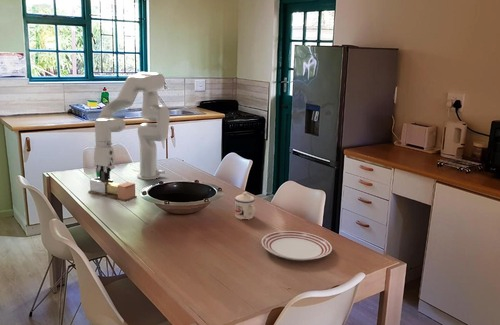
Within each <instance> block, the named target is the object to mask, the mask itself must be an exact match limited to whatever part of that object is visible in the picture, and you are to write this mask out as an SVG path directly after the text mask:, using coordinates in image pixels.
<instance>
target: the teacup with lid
mask: <svg viewBox="0 0 500 325" xmlns="http://www.w3.org/2000/svg"><path fill="white" fill-rule="evenodd" d="M255 201H256V200H255V197H254V196H252V195H250V194H248V192H247V191H244V192H242V194H239V195H236V196H235V198H234V204H235V205H234V206H235V207H234V217H235V218H236V219H238V220H242V219H248V220H251V219H253V218H254V215H255V213H256V206H255Z"/></svg>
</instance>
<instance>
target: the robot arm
mask: <svg viewBox="0 0 500 325" xmlns="http://www.w3.org/2000/svg"><path fill="white" fill-rule="evenodd" d="M165 84H166V78H165V76H164V75H163V74H162V73H159V72H149V71H140V72H137V73H136V74H135V75H133V74H132V75H129V76H127V78H126V79H125V81H124V83H123V85H122V86H121V89H120V91H119V93H118V94H117V97H115V98H114V99H113V100H111V101H110V102H108V103H107V104H106V105H105V106H104V107H103V108H102V110H101V111H100V113H99V115H98V118H96V120H95V121H94V132H95V134H94V137H95V145H94V151H93V152H94V154H93V155H94V156H93V159H94V160H93V161H94V163H93V165H94V166H95V168H98V171H99V177H100V179H101V171H103V170H104V167H105V173H104V180H108V179H110V180H111V176H110V174H111V170H114V169H115V165H116V163H115V162H116V161H115V160H116V158H115V151H114V147H113V142H112V133H120V132H122V131H123V130H125V128H126V121H125V119H123V118H121V117H117V116H114V115H115V114H116V113H117V112H119V111H123V110H125V109H127V108H131V107H132V106H133V105H134V102H135V101H136V98H137V96H138V94H139V93H142V106H141V117H142V118H143V120H145V121H149V122H143V123H140V124H139V125H138V127H137V135H138V141H139V142H138V143H139V173H138V174H137V176H136V177H137V178H138V179H140V180H146V181H148V180H156V178H157V179H158V178H160V176H161V175H165V174H166V171H165V170H163V169H158V166H157V163H158V161H157V160H158V157H157V156H158V155H157V154H158V153H157V150H158V149H157V144H156V142H160V143H162V142H165V141H166V140H167V139H168V135H169V126H170V118H171V117H170V110H169V108H168V107H167V106H166V105H164V104H163V105H162V104H159V93H158V90H160V89H162V88H163V87H164V86H165ZM150 121H151V122H150ZM152 122H156V123H152ZM107 168H108V169H107Z"/></svg>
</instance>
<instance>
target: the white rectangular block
mask: <svg viewBox="0 0 500 325" xmlns="http://www.w3.org/2000/svg"><path fill="white" fill-rule="evenodd" d="M108 181H109V182H113V183H114V180H113V179H111V178H110V179H108ZM89 184H90V185H89V188H90V190H89V191H93V192H98V193H102V194H107V193H108V192H106V186H105V184H106V182H103V181H101V179H100V177H97V176H96V177H94V178H91V179H89Z"/></svg>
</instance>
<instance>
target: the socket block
mask: <svg viewBox="0 0 500 325" xmlns="http://www.w3.org/2000/svg"><path fill="white" fill-rule="evenodd" d="M119 184H120V185H118V198H121V199H125V200H126V199H129V198H131V197H134V196H136V183H135V182H134V183H133V182H129V181H126V182H124V183H123V182H122V183H119Z"/></svg>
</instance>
